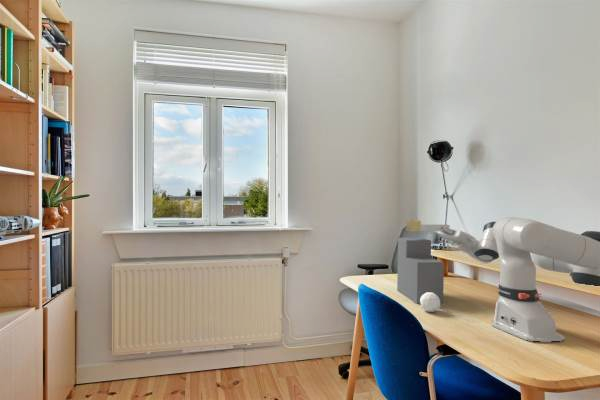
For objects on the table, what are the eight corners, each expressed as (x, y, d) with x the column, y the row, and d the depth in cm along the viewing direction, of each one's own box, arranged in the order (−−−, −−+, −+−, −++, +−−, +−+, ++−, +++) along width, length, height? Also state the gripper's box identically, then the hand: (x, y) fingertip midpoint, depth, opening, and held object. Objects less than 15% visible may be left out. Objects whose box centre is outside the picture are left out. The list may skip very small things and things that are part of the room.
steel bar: (450, 231, 172) (450, 220, 172) (410, 231, 170) (410, 220, 170) (445, 230, 177) (445, 220, 177) (406, 230, 175) (406, 220, 175)
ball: (425, 316, 147) (423, 297, 152) (445, 313, 143) (441, 293, 148) (417, 310, 143) (415, 291, 148) (437, 306, 139) (434, 287, 143)
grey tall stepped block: (443, 303, 157) (444, 243, 156) (416, 303, 155) (417, 243, 155) (420, 290, 178) (421, 238, 178) (397, 290, 177) (398, 237, 177)
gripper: (472, 250, 165) (448, 234, 164) (449, 244, 186) (427, 230, 184) (479, 238, 166) (455, 222, 164) (455, 233, 186) (433, 220, 185)
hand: (440, 226), depth 174 cm, fingers closed on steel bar, 3 cm apart
